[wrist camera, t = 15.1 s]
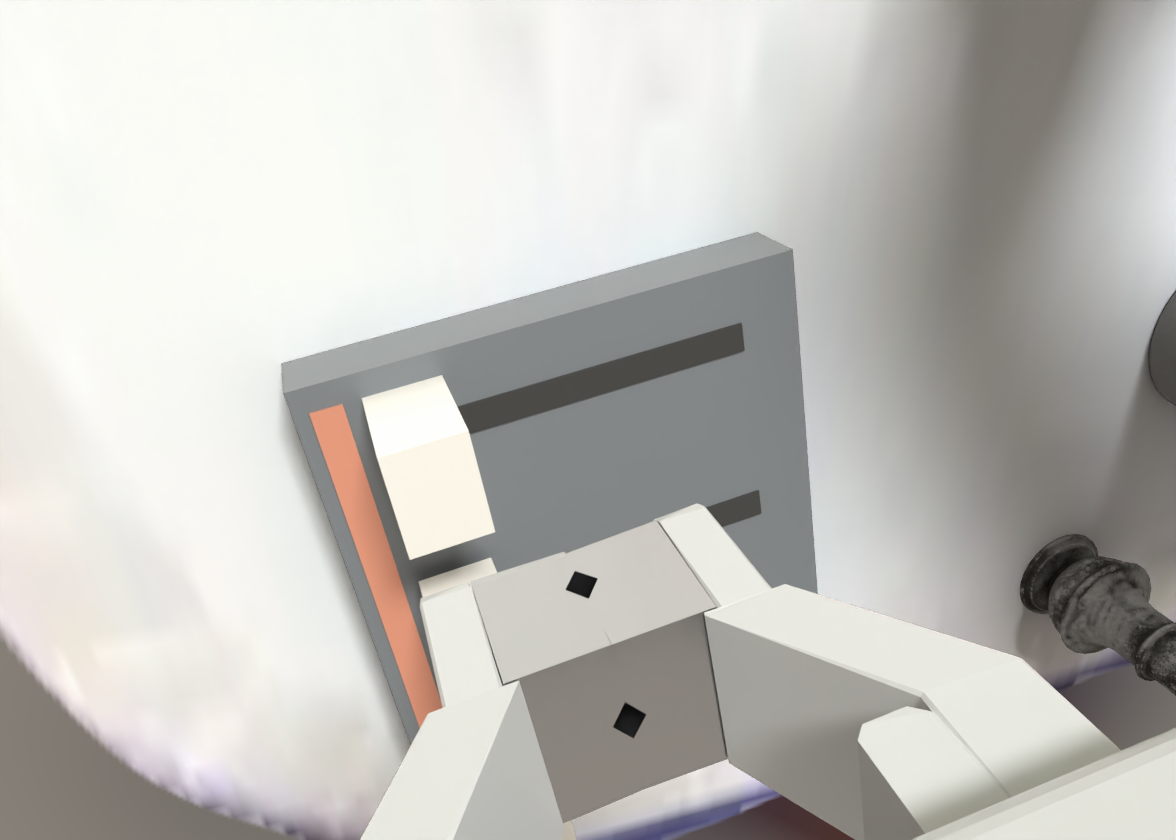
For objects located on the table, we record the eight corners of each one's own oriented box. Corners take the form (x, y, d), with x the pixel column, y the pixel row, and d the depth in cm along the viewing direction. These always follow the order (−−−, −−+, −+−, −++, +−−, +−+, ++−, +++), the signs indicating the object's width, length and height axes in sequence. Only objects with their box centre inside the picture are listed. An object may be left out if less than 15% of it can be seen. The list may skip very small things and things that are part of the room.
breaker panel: (757, 232, 40) (863, 284, 33) (793, 632, 50) (880, 737, 43) (281, 363, 36) (287, 454, 29) (426, 769, 46) (456, 908, 39)
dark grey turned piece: (1024, 541, 52) (1215, 678, 42) (1109, 521, 54) (1313, 648, 44) (1008, 626, 55) (1183, 775, 45) (1089, 604, 57) (1277, 743, 46)
